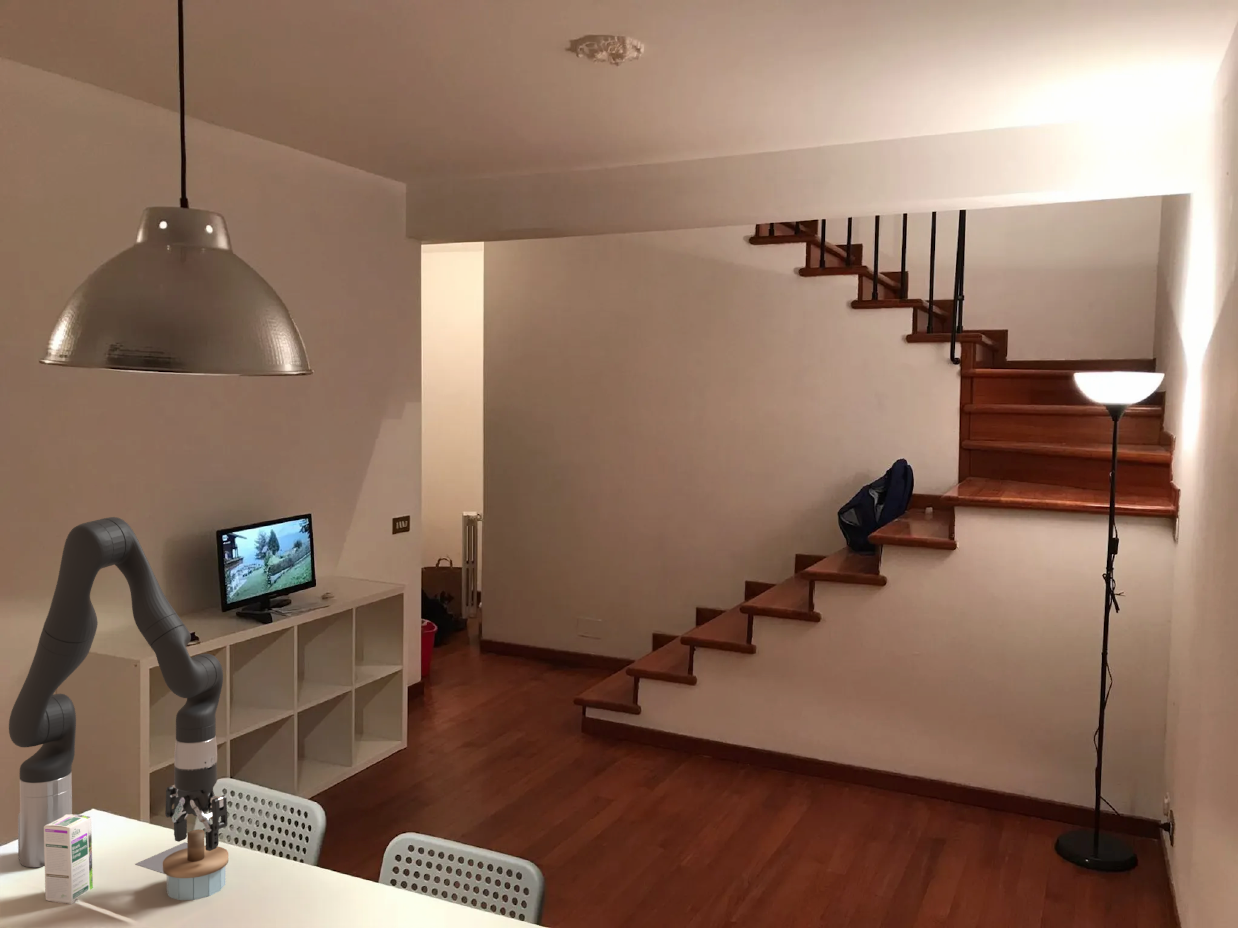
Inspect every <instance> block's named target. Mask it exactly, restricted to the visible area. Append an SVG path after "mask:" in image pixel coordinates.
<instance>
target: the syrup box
mask: <svg viewBox="0 0 1238 928" xmlns="http://www.w3.org/2000/svg"><path fill="white" fill-rule="evenodd" d="M92 843H93V841H92V816H89V815H82V814H72V815H67V814H66V815H65V816H64V817H62V818H60V819H58V820H56V821H54V822H52V823H50V824H47V825H45V826H44V857H45V866H44V882H45V883H44V885H45V886H44V887H45V900H46V901H48V902H53V903H59V904H60V903H61V904H69V905H71V904H73V903H74V902H76V901H77V900H78V898H79V897H80V896H82V895H84V894H85V893H87V892H88V891H90V890H92V889H93V888H94V885H93V884H94V882H93V847H92V846H93V845H92Z"/></svg>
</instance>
